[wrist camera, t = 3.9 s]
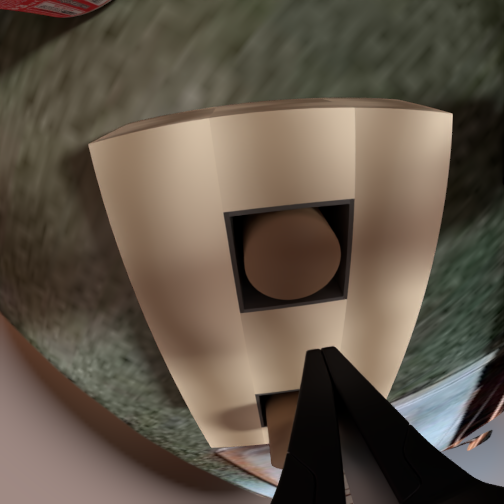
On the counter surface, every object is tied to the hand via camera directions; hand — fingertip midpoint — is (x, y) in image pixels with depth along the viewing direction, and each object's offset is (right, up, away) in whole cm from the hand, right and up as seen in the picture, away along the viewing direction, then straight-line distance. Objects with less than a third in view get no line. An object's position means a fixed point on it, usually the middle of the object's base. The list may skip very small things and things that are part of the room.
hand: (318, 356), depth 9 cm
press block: (0, 0, +12) cm, 12 cm away
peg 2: (+1, -7, +11) cm, 13 cm away
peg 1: (-1, +5, +8) cm, 9 cm away
